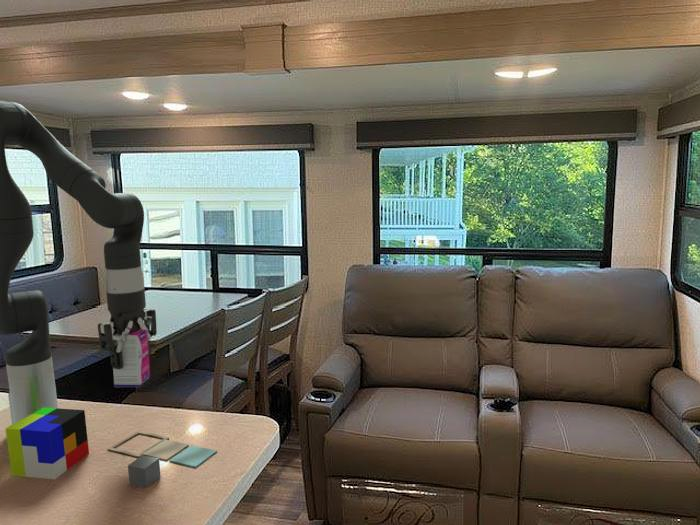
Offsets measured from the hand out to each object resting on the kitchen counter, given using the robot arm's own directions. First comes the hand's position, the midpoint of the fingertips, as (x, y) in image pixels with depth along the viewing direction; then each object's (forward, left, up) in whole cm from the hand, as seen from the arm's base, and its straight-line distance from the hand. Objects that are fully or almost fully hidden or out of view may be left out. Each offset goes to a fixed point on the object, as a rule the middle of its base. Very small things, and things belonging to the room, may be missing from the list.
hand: (131, 362), depth 115 cm
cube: (+13, -11, -19) cm, 25 cm away
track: (+8, 0, -19) cm, 20 cm away
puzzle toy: (-11, -13, -19) cm, 26 cm away
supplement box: (0, 0, -5) cm, 5 cm away
